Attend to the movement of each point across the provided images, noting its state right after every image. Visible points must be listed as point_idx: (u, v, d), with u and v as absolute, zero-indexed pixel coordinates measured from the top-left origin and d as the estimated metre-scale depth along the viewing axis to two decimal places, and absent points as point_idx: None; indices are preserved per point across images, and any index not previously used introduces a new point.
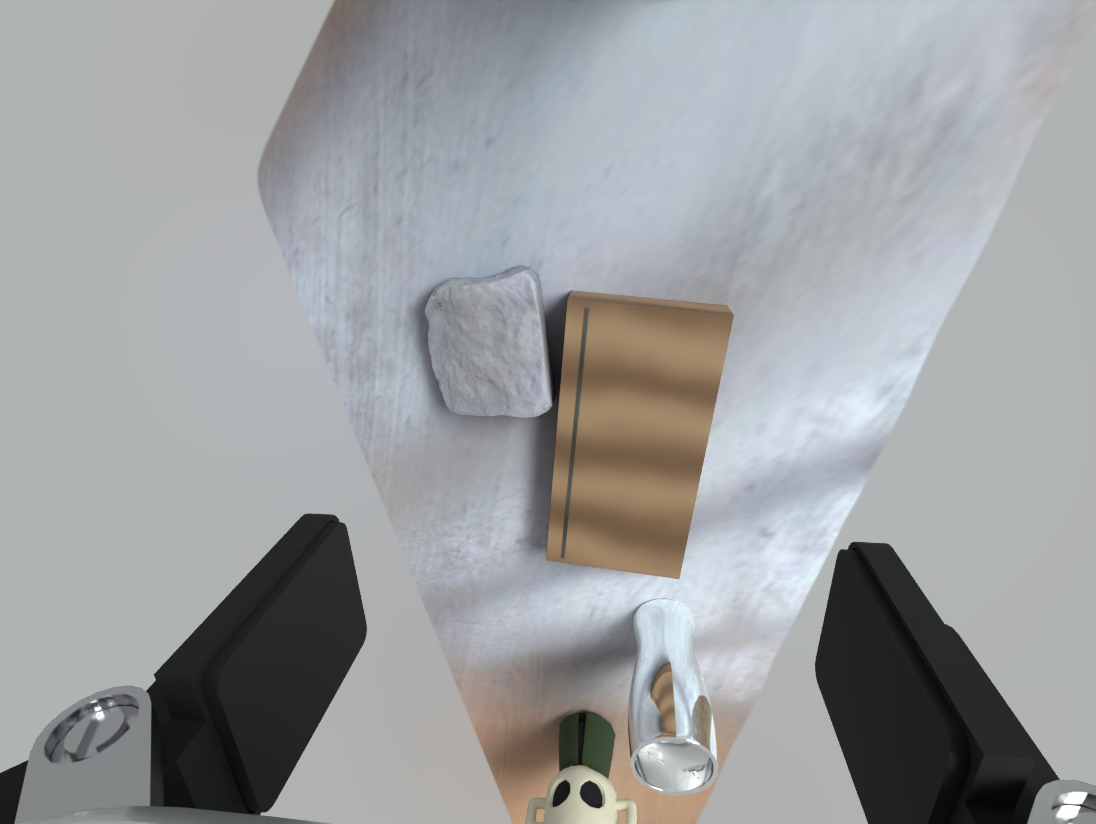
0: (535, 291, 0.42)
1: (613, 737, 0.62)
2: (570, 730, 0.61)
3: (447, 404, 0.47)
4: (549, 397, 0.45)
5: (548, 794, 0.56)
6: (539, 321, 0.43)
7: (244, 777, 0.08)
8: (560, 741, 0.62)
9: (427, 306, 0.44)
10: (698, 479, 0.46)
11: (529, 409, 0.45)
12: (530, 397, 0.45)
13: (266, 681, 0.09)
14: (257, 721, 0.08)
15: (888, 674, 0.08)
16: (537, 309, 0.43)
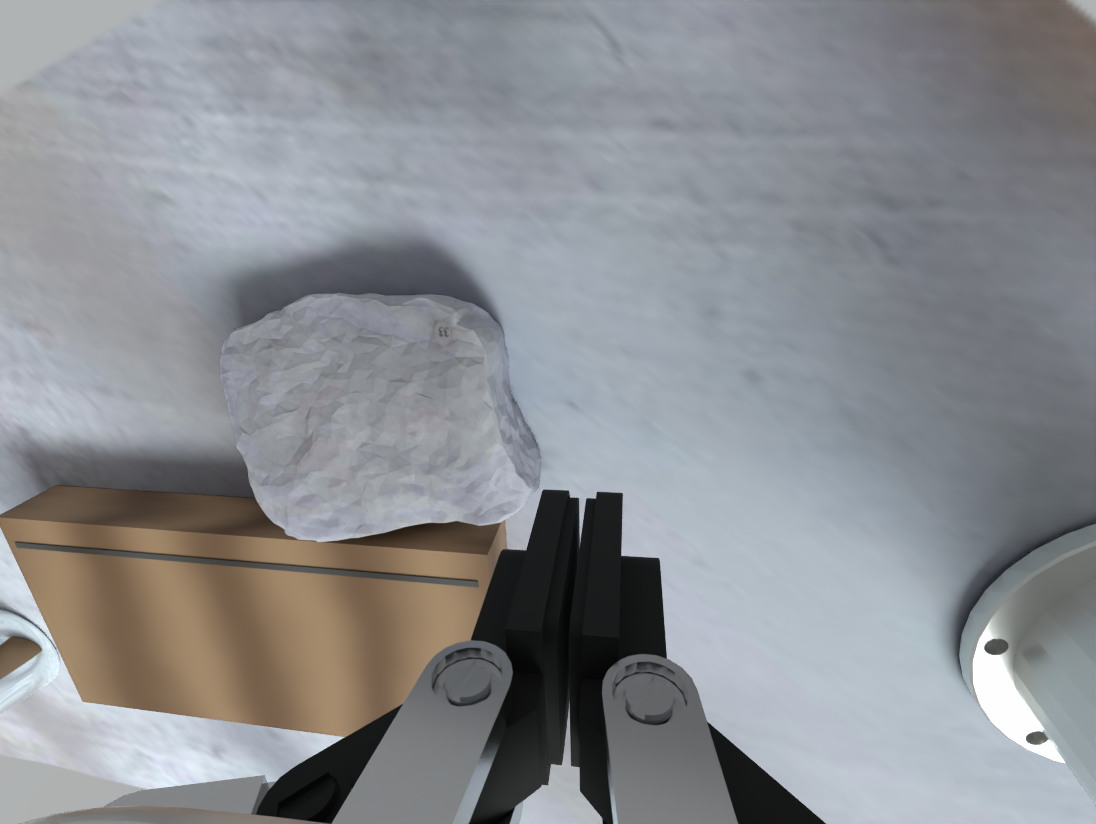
0: None
1: None
2: None
3: (235, 336, 0.22)
4: None
5: None
6: (444, 521, 0.23)
7: (553, 730, 0.09)
8: None
9: (434, 305, 0.20)
10: (250, 722, 0.30)
11: (273, 514, 0.23)
12: (296, 520, 0.23)
13: (564, 641, 0.09)
14: (562, 678, 0.09)
15: None
16: (465, 521, 0.23)
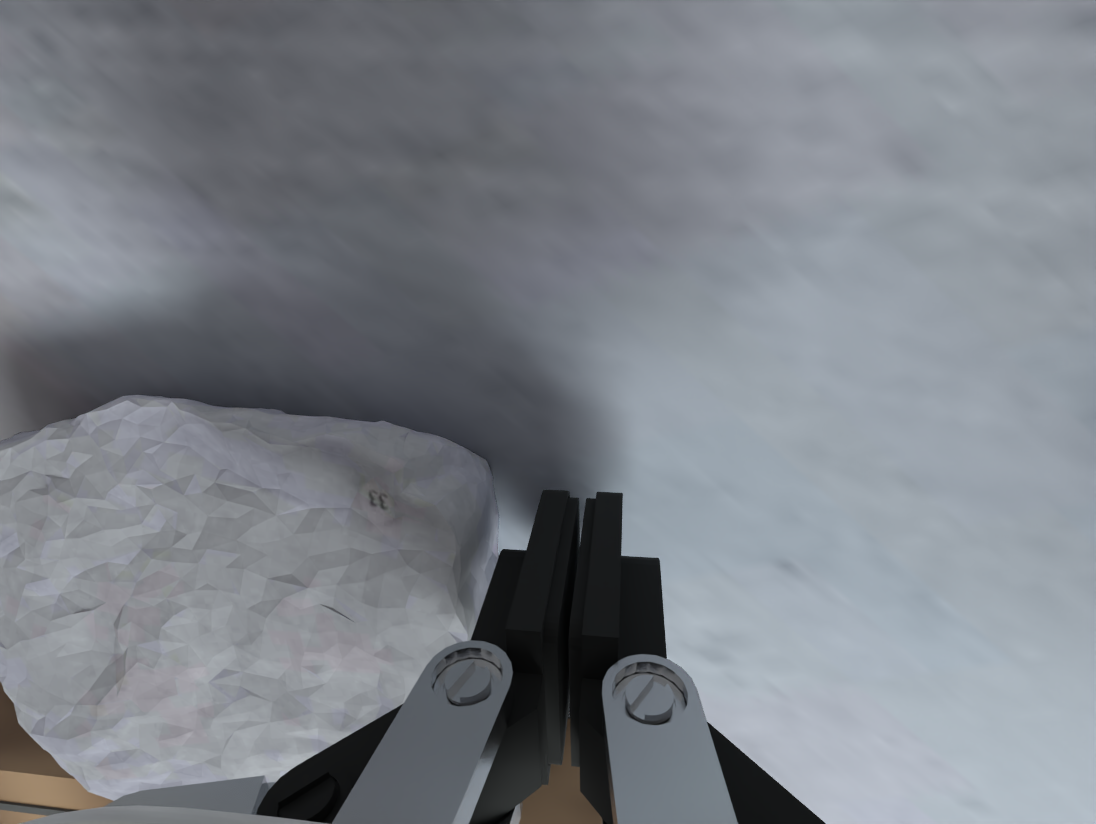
0: None
1: None
2: None
3: None
4: None
5: None
6: None
7: (554, 730, 0.09)
8: None
9: (360, 451, 0.10)
10: None
11: (65, 765, 0.13)
12: (103, 785, 0.13)
13: (564, 641, 0.09)
14: (562, 678, 0.09)
15: None
16: None
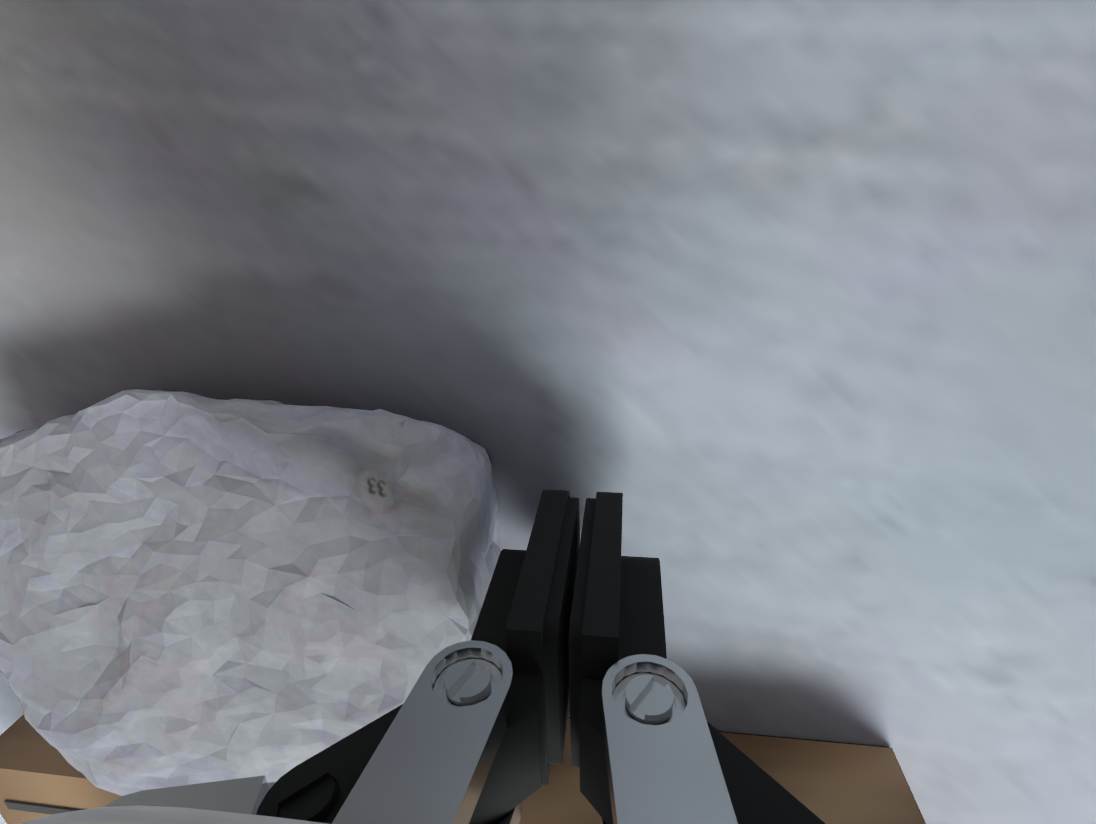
0: None
1: None
2: None
3: None
4: None
5: None
6: None
7: (554, 730, 0.09)
8: None
9: (357, 438, 0.10)
10: None
11: (73, 761, 0.13)
12: (110, 780, 0.13)
13: (564, 641, 0.09)
14: (562, 678, 0.09)
15: None
16: None
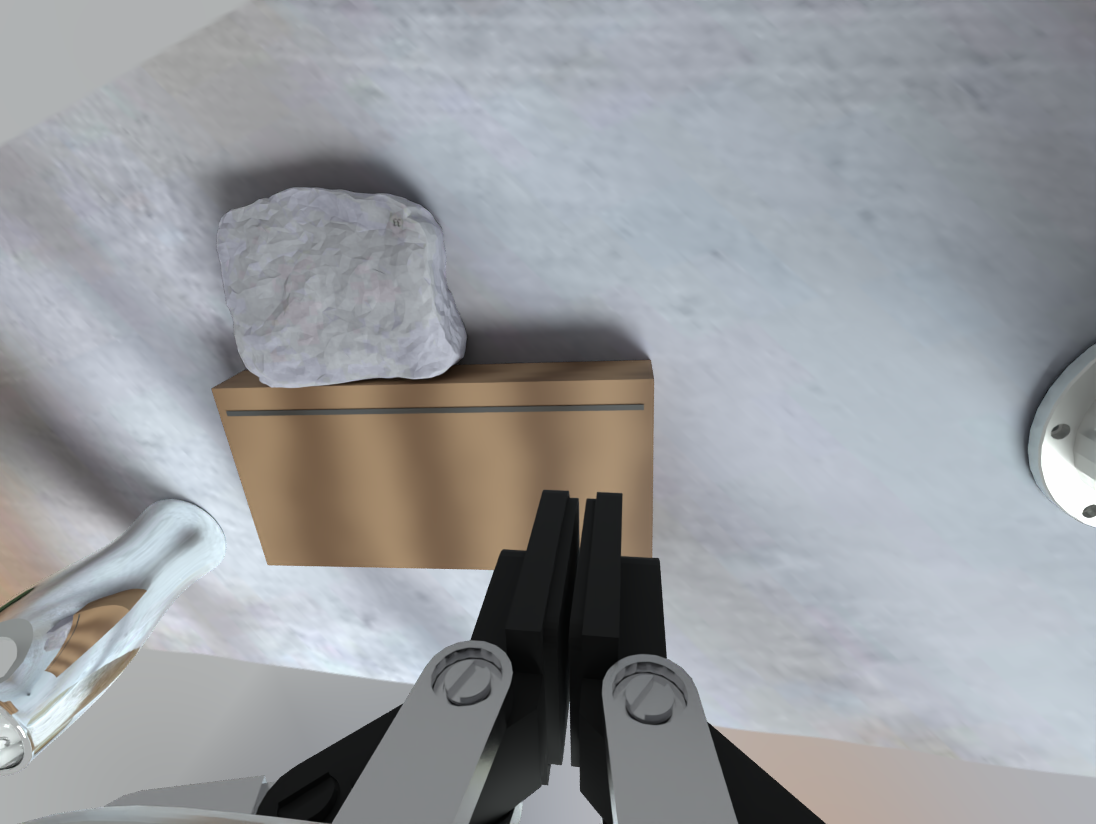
0: None
1: None
2: None
3: (230, 214, 0.28)
4: None
5: None
6: (388, 377, 0.30)
7: (553, 730, 0.09)
8: None
9: (390, 200, 0.27)
10: (424, 567, 0.35)
11: (251, 362, 0.30)
12: (270, 367, 0.29)
13: (564, 641, 0.09)
14: (562, 678, 0.09)
15: None
16: (404, 377, 0.30)
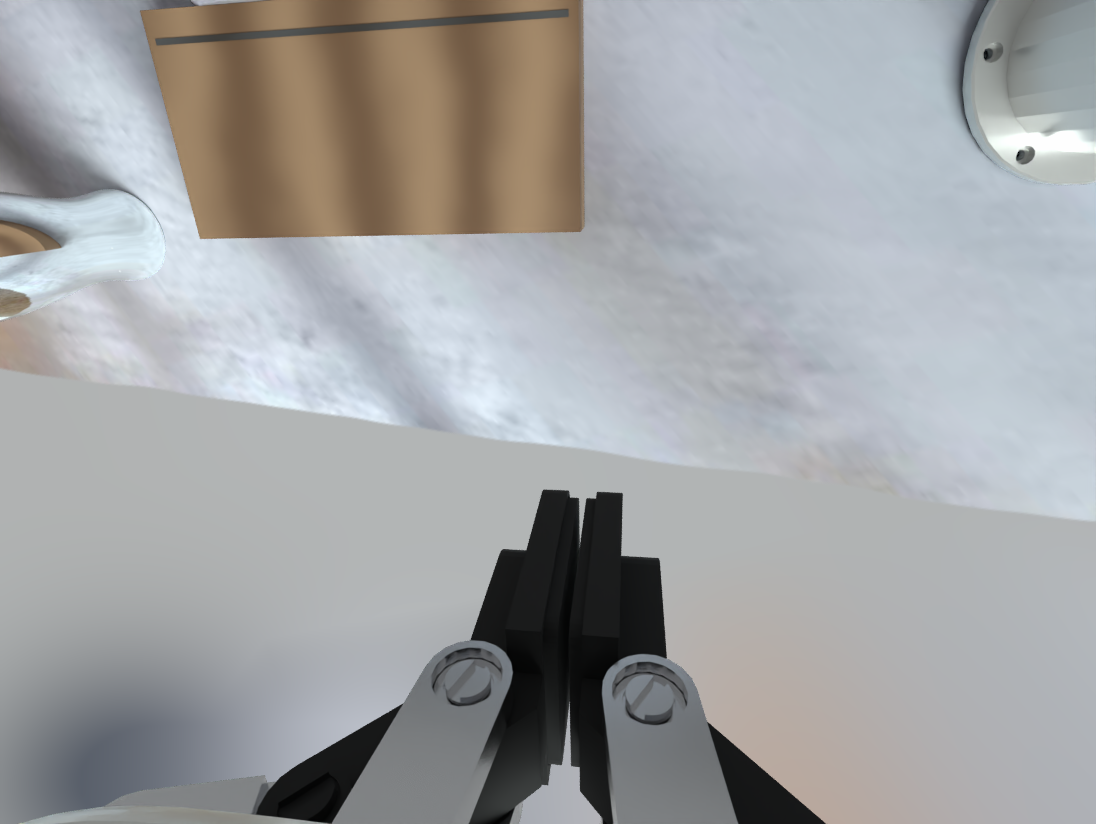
0: None
1: None
2: None
3: None
4: (207, 4, 0.31)
5: None
6: None
7: (554, 730, 0.09)
8: None
9: None
10: (354, 234, 0.34)
11: None
12: None
13: (564, 641, 0.09)
14: (562, 678, 0.09)
15: None
16: None
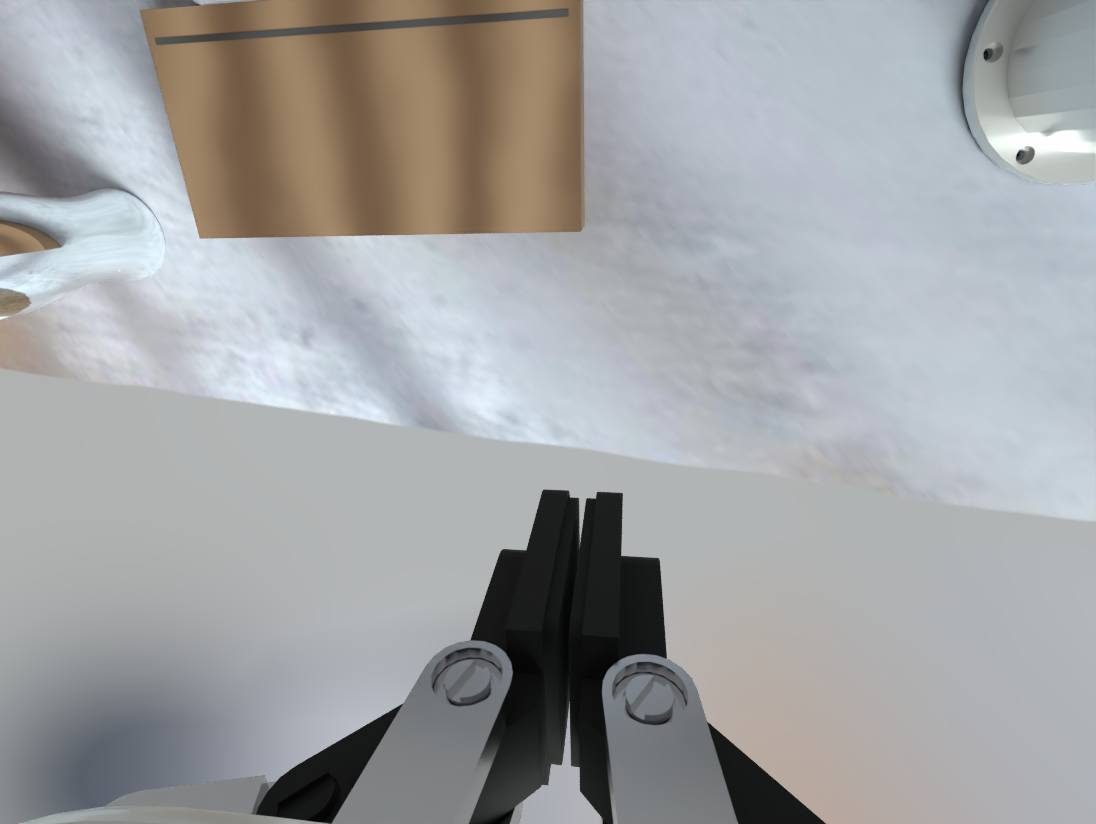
0: None
1: None
2: None
3: None
4: (209, 4, 0.30)
5: None
6: None
7: (553, 730, 0.09)
8: None
9: None
10: (354, 233, 0.34)
11: None
12: None
13: (564, 641, 0.09)
14: (562, 678, 0.09)
15: None
16: None
